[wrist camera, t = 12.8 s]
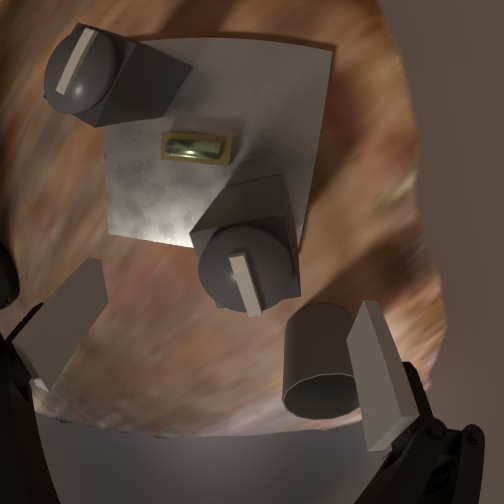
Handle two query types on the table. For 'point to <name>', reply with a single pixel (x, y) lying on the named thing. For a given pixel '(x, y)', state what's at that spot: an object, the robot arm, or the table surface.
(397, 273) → the table surface
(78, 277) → the robot arm
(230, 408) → the table surface
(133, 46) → the knob
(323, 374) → the cup
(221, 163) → the bubble vial
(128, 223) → the base plate
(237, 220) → the knob
